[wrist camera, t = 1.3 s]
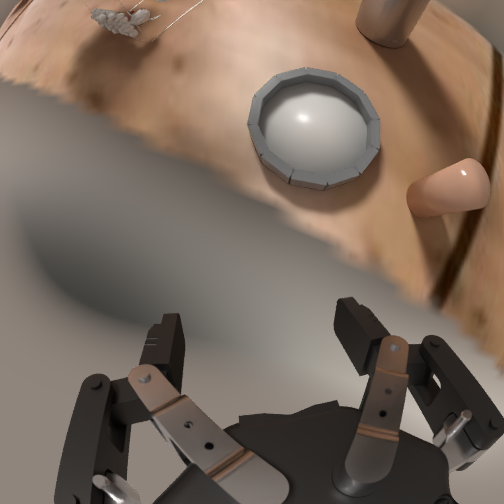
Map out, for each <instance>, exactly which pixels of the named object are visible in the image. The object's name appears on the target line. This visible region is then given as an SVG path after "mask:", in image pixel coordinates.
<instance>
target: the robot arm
mask: <svg viewBox="0 0 504 504" xmlns="http://www.w3.org/2000/svg"><path fill="white" fill-rule="evenodd" d="M429 1H430V0H362V2H361V5H360V8H359V12H358V15H357V18H356V25H357V28H358V29H359V31H360V32H361V33H362V34H363V35H364V36H366V37H367V38H368V39H370V40H371V41H373V42H375V43H377V44H379V45H382V46H385V47H390V48H399V47H402V46H403V45H404V44H405V42H406V40H407V39H408V37H409V35H410V34H411V32H412V31H413V29H414V27H415V25H416V24H417V22H418V20H419V18H420V17H421V15H422V13H423V12H424V10H425V8H426V6H427V5H428V3H429ZM334 331H335V334H336V336H337V337H338V339H339V341H340V342H341V344H342V346H343V348H344V349H345V351H346V353H347V355H348V356H349V358H350V360H351V362H352V363H353V365H354V367H355V369H356V370H357V372H358V374H359V376H362V375H366V374H368V375H369V379H368V383H367V386H366V389H365V392H364V395H363V398H362V401H361V404H360V407H359V409H356V408H352V407H344V406H339V404H338V402H337V400H335V401H331V402H327V403H322V404H317V405H313V406H311V407H309V408H306V409H304V410H301V411H299V412H297V413H294V414H291V415H283V414H266V413H263V414H254V415H244V416H239V423H236V424H234V425H231V426H229V427H227V428H225V429H223V430H222V429H221V428H220V427H219V426H218V425H217V424H216V423H215V422H213V421H212V420H211V419H210V418H209V417H208V416H207V415H206V414H205V413H204V412H203V411H202V410H201V409H200V408H199V407H198V406H197V405H196V404H195V403H194V402H193V401H192V400H191V399H190V398H189V397H188V396H187V395H181V387H182V377H183V366H184V357H185V338H184V334H183V329H182V324H181V319H180V315H179V314H178V313H173V314H172V313H171V314H164V315H163V319H162V323H161V324H154V325H153V327H151V329H150V330H149V331H148V335H147V339H146V341H145V345H144V348H143V352H142V355H141V359H140V362H139V366H137V367H135V368H134V369H132V370H131V371H130V373H129V375H128V377H126V378H123V379H118V380H114V381H110V379H109V378H108V377H107V376H106V375H104V374H93V375H91V376H89V377H87V378H86V379H85V380H84V381H83V383H82V386H81V389H80V392H79V395H78V398H77V401H76V404H75V407H74V411H73V414H72V418H71V421H70V425H69V428H68V432H67V436H66V440H65V444H64V448H63V452H62V457H61V461H60V466H59V472H58V477H57V482H56V489H55V495H54V503H55V504H141V502H140V497H139V494H138V492H137V491H136V489H135V488H134V487H132V486H131V485H130V484H129V483H128V482H127V466H128V453H129V442H130V432H131V425H132V424H134V423H138V422H143V421H148V420H149V421H150V422H151V424H152V425H153V426H154V427H155V429H156V430H157V431H158V433H159V434H160V435H161V437H162V438H163V439H164V440H165V442H166V443H167V444H168V445H169V446H170V448H171V449H172V450H173V452H174V453H175V455H176V456H177V457H178V458H179V460H180V461H181V462H182V463H183V464H184V465H185V466H186V467H187V468H186V469H185V470H184V471H183V472H182V473H181V475H180V476H179V477H178V478H177V479H176V480H175V481H174V482H173V483H172V484H171V485H170V486H169V487H168V488H167V489H166V490H165V491H164V492H163V493H162V494H161V495H160V496H159V497H158V498H157V499H156V500H155V501H154V503H153V504H458V503H457V502H456V501H455V500H454V499H453V498H452V496H451V493H450V488H449V473H451V472H453V471H454V470H457V471H462V470H465V469H466V468H468V467H469V466H470V465H471V464H472V463H473V462H475V461H476V460H477V459H478V458H479V457H480V456H481V455H482V454H483V453H485V452H486V451H487V450H488V449H489V448H490V447H491V446H492V445H493V444H494V443H495V442H496V441H497V440H498V439H499V438H500V437H501V436H502V435H503V434H504V418H503V416H502V415H501V413H500V412H499V410H498V409H497V407H496V406H495V404H494V403H493V402H492V401H491V399H490V398H489V396H488V395H487V394H486V392H485V391H484V389H483V388H482V387H481V385H480V384H479V383H478V381H477V380H476V379H475V377H474V376H473V375H472V374H471V373H470V371H469V370H468V369H467V367H466V366H465V365H464V364H463V362H462V361H461V360H460V359H459V357H458V356H457V355H456V354H455V353H454V351H453V350H452V349H451V348H450V347H449V346H448V344H447V343H446V342H445V341H444V340H443V339H442V338H440V337H438V336H435V335H428V336H426V337H425V338H424V339H423V341H422V343H421V344H408V343H407V342H406V340H404V339H403V338H401V337H399V336H394V335H390V333H389V332H388V331H387V330H386V328H385V327H384V326H383V325H382V324H381V322H380V321H378V319H377V317H376V316H374V314H373V313H372V312H371V310H370V309H368V308H367V307H365V306H363V305H359V304H358V303H357V301H356V300H355V299H354V298H353V297H347V298H340V299H338V301H337V306H336V312H335V318H334ZM434 374H435V375H436V377H437V378H438V379H439V381H440V383H441V389H440V387H439V386H438V385H437V383H436V382H435V380H434V379H433V375H434ZM407 387H408V389H409V390H410V392H411V394H412V396H413V397H414V399H415V401H416V402H417V404H418V406H419V408H420V410H421V411H422V413H423V415H424V417H425V418H426V420H427V422H428V424H429V425H430V428H431V430H432V431H433V433H434V436H433V444H431V443H429V442H427V441H424V440H422V439H420V438H418V437H415V436H413V435H411V434H409V433H407V432H404V431H402V430H400V429H399V428H400V423H401V418H402V413H403V408H404V403H405V397H406V391H407Z"/></svg>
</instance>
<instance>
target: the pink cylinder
mask: <svg viewBox="0 0 504 504" xmlns="http://www.w3.org/2000/svg"><path fill="white" fill-rule="evenodd" d="M490 193H491V188H490V181H489V178H488V175H487V173H486V171H485V169H484V168H483V166H482V165H481V164H480V163H479V162H478V161H476V160H474V159H471V158H467V159H464V160H462V161H460V162H458V163H455V164H453V165H451V166H449V167H447V168H445V169H442V170H440V171H438V172H436V173H434V174H432V175H429V176H427V177H425V178H423V179H421V180H418V181H416V182H414V183H412V184H411V185H410V186H409V188H408V190H407V203H408V206H409V208H410V210H411V212H412V213H413V214H414V215H416V216H417V217H420V218H428V217H434V216H440V215H445V214H451V213H457V212H463V211H468V210H474V209H480V208H483V207H485V206H486V205H487V203H488V201H489V199H490Z"/></svg>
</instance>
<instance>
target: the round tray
mask: <svg viewBox="0 0 504 504" xmlns="http://www.w3.org/2000/svg"><path fill="white" fill-rule="evenodd" d="M363 93H364V91H363V90H361V89H360V88H359V87H357V86H356V85H354V84H353V83H352V82H350V81H349V80H347V79H346V78H344V77H343V76H341V75H340V74H338V75H337V73H334V72H329V71H324V70H319V69H314V68H308V67H307V69H305V67H304V68H300V69H296V70H292V71H288V72H284V73H280V74H277V75H276V76H273V77H272V78H271V79H270V80H269V81H268V82H267V83H266V84H265V85H264V86H263V87H262V88H261V89H260V90H259V91H258V92H257V93H256V94H255V95H254V97H253V100H252V104H251V109H250V114H249V119H248V123H247V124H248V129H249V133H250V136H251V139H252V141H253V143H254V146H255V148H256V151H257V153H258V156H259V158H260V160H261V162H262V164H263V165H265V166H266V167H267V168H269V169H270V170H271V171H272V172H274V173H275V174H276V175H278V176H279V177H280V178H281V179H283V180H284V181H285V182H286V183H289V182H290V181H291V182H290V185H295V186H301V187H306V188H311V189H317V190H323V189H324V190H327V189H330V188H333V187H336V186H339V185H342V184H345V183H348V182H351V181H353V180H355V179H356V178H357V177H358V176H359V175H361V174H362V172H363V171H364V170H365V169H366V167H367V166H368V165H369V163H370V162H371V161H372V159H373V158H374V157H375V155H376V154H377V153H378V150H379V149H380V121H379V120H380V118H379V116H378V114H377V112H376V111H375V109H374V107H373V105H372V103H371V102H370V100H369V98H368V96H367V95H366V93H364V94H363Z"/></svg>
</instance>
